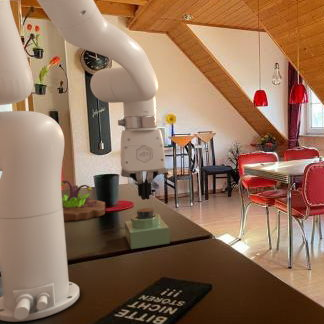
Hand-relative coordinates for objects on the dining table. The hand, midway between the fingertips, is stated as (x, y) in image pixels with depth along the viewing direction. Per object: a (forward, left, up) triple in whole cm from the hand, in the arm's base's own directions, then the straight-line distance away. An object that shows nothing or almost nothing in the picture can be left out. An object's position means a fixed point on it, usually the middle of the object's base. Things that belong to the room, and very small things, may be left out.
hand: (145, 198), depth 96 cm
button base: (0, 0, -11) cm, 11 cm away
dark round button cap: (0, 0, -5) cm, 5 cm away
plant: (+39, +17, -11) cm, 44 cm away
